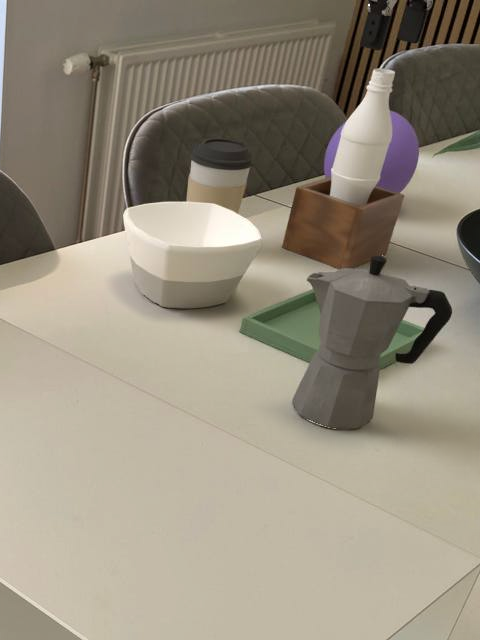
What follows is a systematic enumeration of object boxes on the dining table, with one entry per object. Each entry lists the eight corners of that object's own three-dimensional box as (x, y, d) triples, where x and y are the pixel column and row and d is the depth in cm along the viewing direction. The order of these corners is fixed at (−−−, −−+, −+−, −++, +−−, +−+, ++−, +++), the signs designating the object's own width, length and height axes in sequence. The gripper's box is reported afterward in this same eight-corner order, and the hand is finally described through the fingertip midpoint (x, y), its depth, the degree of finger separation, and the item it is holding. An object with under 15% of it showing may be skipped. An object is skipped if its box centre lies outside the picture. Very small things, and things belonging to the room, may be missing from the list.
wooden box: (385, 254, 155) (404, 194, 149) (345, 271, 149) (363, 209, 143) (322, 232, 161) (338, 173, 155) (281, 247, 155) (296, 186, 149)
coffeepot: (268, 416, 114) (310, 259, 102) (280, 381, 120) (321, 230, 108) (406, 447, 110) (466, 289, 98) (411, 410, 117) (468, 257, 105)
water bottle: (303, 251, 154) (350, 70, 138) (320, 239, 159) (368, 62, 142) (347, 263, 151) (401, 80, 135) (363, 250, 156) (417, 71, 139)
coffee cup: (187, 258, 149) (206, 151, 139) (167, 236, 156) (184, 132, 146) (243, 257, 151) (266, 151, 141) (221, 235, 157) (242, 132, 147)
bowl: (97, 271, 143) (106, 203, 137) (207, 263, 148) (220, 197, 142) (148, 323, 131) (160, 251, 125) (266, 313, 136) (283, 243, 129)
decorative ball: (411, 203, 175) (441, 110, 165) (389, 227, 165) (419, 129, 155) (328, 185, 180) (353, 93, 170) (302, 206, 170) (326, 110, 160)
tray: (427, 345, 131) (432, 330, 129) (354, 382, 121) (359, 367, 120) (314, 300, 140) (318, 286, 139) (239, 331, 131) (242, 317, 129)
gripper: (426, -106, 118) (380, 57, 130) (493, -108, 128) (444, 44, 139) (371, -114, 122) (331, 44, 134) (440, -115, 132) (397, 33, 143)
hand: (389, 44), depth 136 cm, fingers open, 9 cm apart
